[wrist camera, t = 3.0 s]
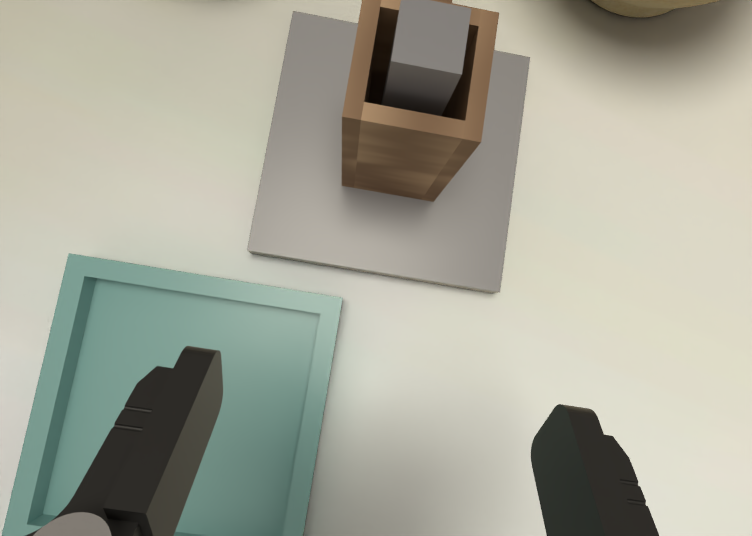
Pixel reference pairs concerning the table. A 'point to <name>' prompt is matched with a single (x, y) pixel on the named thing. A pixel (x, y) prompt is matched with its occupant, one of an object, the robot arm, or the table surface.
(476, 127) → the collar
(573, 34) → the table surface
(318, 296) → the tray
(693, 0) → the planter bowl
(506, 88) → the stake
